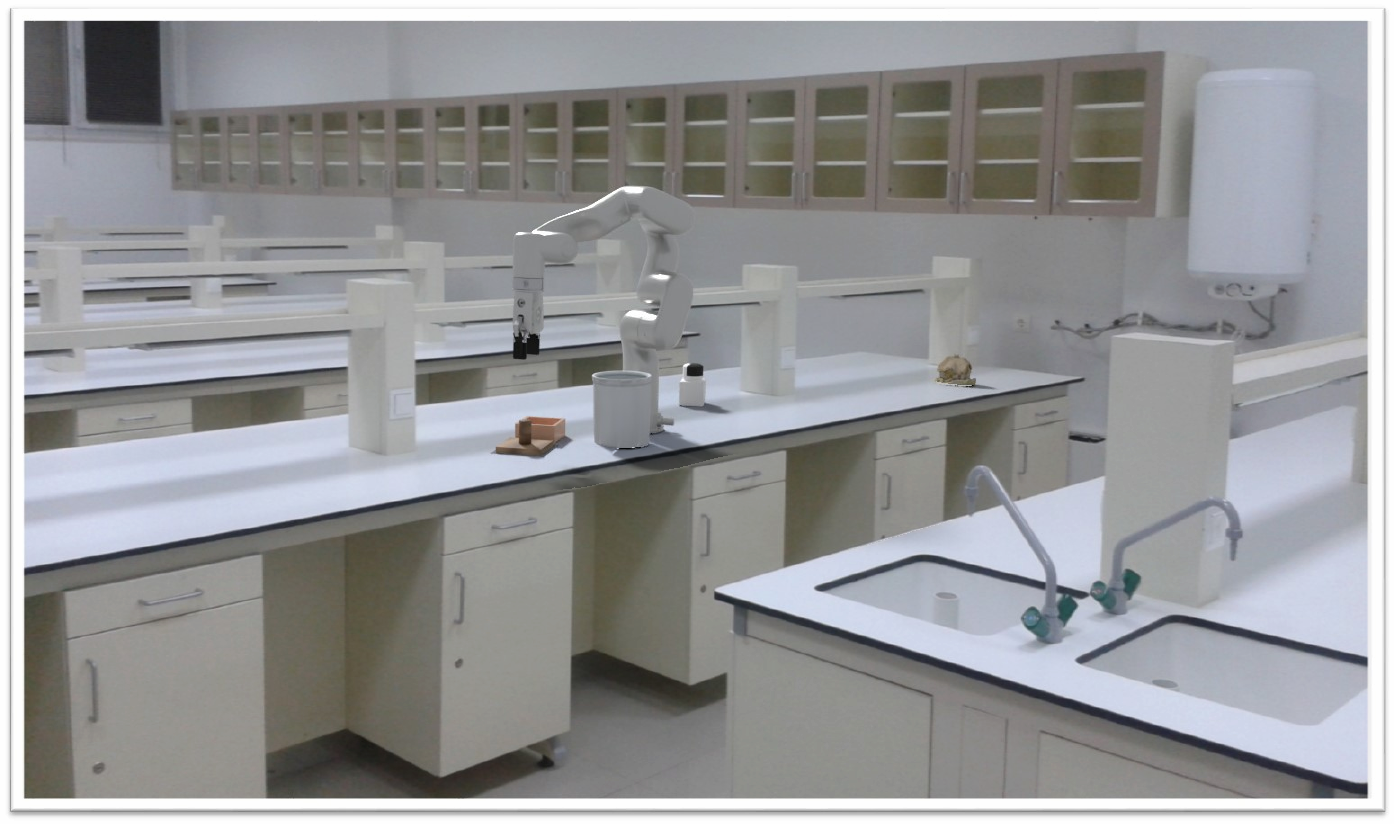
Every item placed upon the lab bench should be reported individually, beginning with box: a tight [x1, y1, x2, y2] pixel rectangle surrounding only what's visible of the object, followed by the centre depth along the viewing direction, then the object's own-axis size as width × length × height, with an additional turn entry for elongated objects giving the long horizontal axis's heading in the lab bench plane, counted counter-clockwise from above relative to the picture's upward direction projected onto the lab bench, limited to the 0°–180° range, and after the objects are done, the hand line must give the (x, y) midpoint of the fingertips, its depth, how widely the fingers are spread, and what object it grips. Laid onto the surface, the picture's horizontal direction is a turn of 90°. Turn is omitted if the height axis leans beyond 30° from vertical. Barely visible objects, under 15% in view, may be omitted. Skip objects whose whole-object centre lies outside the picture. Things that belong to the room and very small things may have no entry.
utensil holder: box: [591, 370, 652, 448], centre depth 313 cm, size 15×15×18 cm
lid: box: [495, 418, 555, 456], centre depth 302 cm, size 11×11×7 cm
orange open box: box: [514, 415, 566, 445], centre depth 315 cm, size 10×10×5 cm
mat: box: [490, 444, 559, 458], centre depth 303 cm, size 13×13×1 cm
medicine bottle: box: [678, 362, 707, 408], centre depth 370 cm, size 7×7×12 cm
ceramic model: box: [934, 353, 977, 386], centre depth 421 cm, size 14×11×10 cm
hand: (526, 356), depth 302 cm, fingers open, 9 cm apart
